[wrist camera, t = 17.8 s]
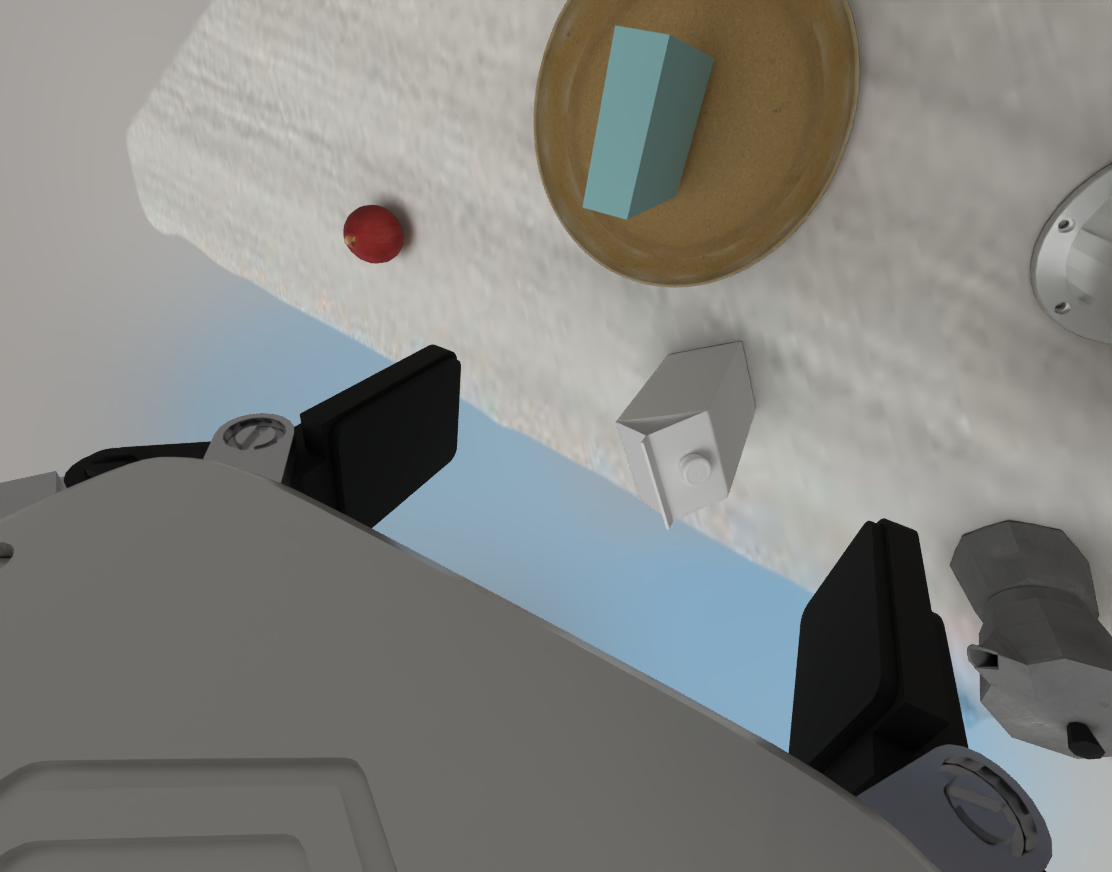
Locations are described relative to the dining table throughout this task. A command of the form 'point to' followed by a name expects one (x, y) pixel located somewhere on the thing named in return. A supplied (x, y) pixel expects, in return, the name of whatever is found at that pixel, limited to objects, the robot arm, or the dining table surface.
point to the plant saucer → (706, 130)
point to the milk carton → (689, 429)
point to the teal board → (645, 121)
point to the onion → (373, 234)
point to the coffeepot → (1038, 637)
